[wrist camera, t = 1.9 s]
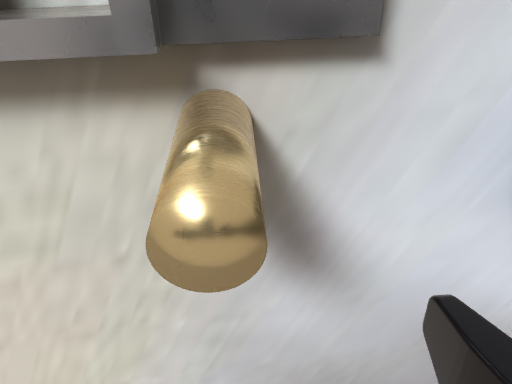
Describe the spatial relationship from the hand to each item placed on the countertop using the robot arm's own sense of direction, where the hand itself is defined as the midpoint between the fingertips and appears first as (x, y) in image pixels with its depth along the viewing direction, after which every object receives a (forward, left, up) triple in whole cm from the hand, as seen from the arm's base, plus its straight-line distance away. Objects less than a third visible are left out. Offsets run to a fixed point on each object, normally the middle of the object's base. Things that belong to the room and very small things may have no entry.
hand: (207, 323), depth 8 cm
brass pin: (0, 0, -10) cm, 10 cm away
